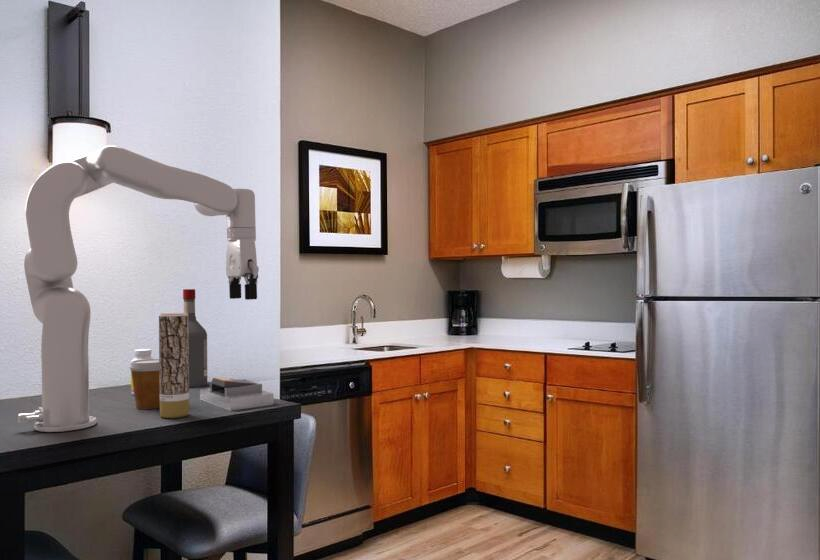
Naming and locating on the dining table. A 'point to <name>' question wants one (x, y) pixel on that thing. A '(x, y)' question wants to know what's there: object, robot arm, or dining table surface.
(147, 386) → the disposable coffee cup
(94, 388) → the dining table surface
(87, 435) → the dining table surface
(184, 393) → the paper tube
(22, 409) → the dining table surface
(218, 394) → the breaker panel
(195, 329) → the liquor
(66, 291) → the robot arm
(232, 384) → the breaker rocker
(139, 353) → the supplement bottle
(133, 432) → the dining table surface
